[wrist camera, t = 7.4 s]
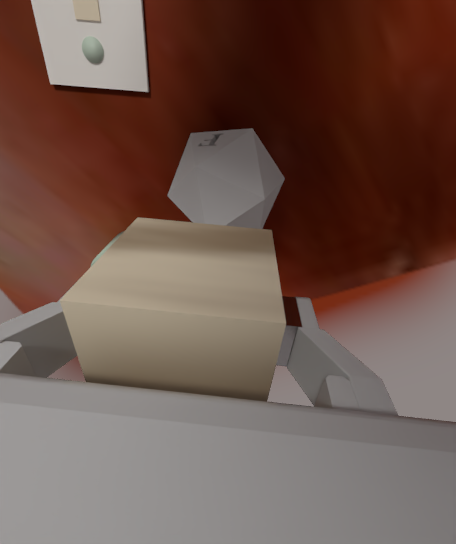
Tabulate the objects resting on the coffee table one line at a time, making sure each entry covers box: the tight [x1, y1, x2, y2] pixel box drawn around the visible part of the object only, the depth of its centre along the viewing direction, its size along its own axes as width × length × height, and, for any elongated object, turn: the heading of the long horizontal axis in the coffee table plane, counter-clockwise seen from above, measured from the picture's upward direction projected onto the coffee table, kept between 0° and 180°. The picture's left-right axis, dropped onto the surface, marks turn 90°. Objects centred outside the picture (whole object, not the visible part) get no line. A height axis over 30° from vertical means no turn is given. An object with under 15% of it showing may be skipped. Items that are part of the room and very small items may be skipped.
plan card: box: [31, 0, 149, 92], centre depth 20 cm, size 10×8×1 cm
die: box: [167, 128, 285, 229], centre depth 22 cm, size 8×9×10 cm
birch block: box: [60, 217, 286, 402], centre depth 10 cm, size 5×5×5 cm
